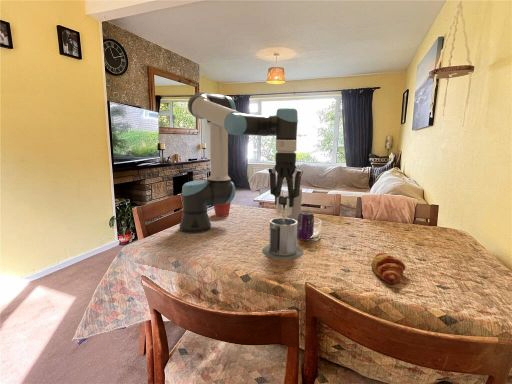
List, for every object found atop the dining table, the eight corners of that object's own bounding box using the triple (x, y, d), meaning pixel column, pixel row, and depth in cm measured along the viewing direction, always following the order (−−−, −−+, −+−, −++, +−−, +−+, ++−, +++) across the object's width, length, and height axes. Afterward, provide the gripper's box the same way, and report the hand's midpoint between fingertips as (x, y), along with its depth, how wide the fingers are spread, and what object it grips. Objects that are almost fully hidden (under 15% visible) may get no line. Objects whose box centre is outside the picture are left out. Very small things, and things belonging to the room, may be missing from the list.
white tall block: (280, 220, 156) (281, 184, 152) (302, 224, 148) (304, 187, 144) (273, 223, 150) (274, 186, 147) (296, 227, 142) (298, 189, 139)
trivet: (254, 254, 107) (254, 252, 107) (275, 242, 120) (275, 241, 120) (291, 265, 99) (291, 263, 98) (309, 251, 112) (310, 249, 111)
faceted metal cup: (260, 253, 106) (261, 223, 104) (277, 244, 117) (278, 216, 115) (286, 260, 100) (287, 228, 98) (301, 250, 111) (302, 220, 109)
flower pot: (210, 216, 161) (210, 200, 159) (216, 212, 171) (216, 196, 170) (228, 217, 159) (228, 201, 157) (233, 213, 170) (233, 197, 168)
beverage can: (312, 241, 123) (314, 215, 120) (296, 240, 124) (297, 214, 122) (312, 236, 129) (314, 211, 127) (297, 235, 131) (298, 210, 129)
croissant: (373, 268, 106) (364, 248, 106) (400, 259, 102) (391, 239, 102) (381, 295, 85) (370, 272, 85) (416, 285, 82) (404, 261, 82)
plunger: (268, 245, 108) (269, 196, 104) (278, 239, 114) (280, 193, 111) (287, 249, 103) (288, 199, 100) (296, 243, 110) (298, 196, 107)
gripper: (261, 151, 104) (260, 212, 108) (302, 153, 95) (299, 220, 99) (271, 151, 110) (270, 209, 114) (311, 152, 101) (308, 215, 105)
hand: (283, 214), depth 107 cm, fingers closed on plunger, 4 cm apart
